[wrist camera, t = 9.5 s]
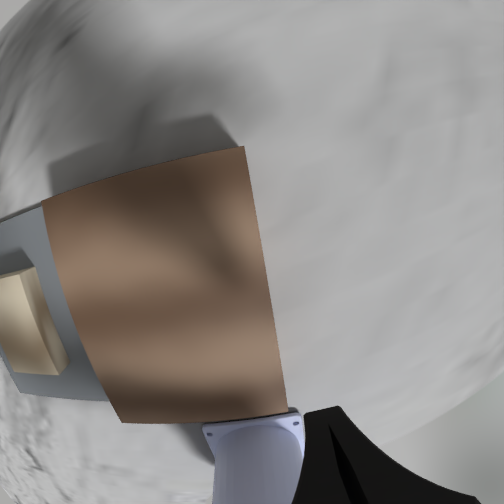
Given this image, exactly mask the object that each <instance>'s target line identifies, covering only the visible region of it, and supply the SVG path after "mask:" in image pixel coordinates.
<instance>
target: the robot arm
mask: <svg viewBox="0 0 504 504" xmlns="http://www.w3.org/2000/svg"><path fill="white" fill-rule="evenodd" d="M303 416H304V425H305V444H304V435H303V426H302V417H301V414H300V413H290V414H284V415H278V416H272V417H266V418H259V419H252V420H244V421H235V422H225V423H213V424H205V425H203V427H202V431H203V434H204V436H205V438H206V440H207V443H208V445H209V447H210V449H211V451H212V453H213V455H214V458H215V472H214V485H213V499H212V504H481V503H480V502H479V501H478V500H477V498H476V497H474V496H470V495H466V494H462V493H459V492H456V491H453V490H450V489H447V488H444V487H442V486H439V485H437V484H435V483H432V482H430V481H428V480H426V479H424V478H422V477H420V476H418V475H416V474H414V473H413V472H411V471H409V470H408V469H406V468H404V467H403V466H402V465H400V464H399V463H397V462H396V461H394V460H393V459H392V458H390V457H389V456H388V455H386V454H385V453H384V452H383V451H382V450H380V449H379V448H378V447H377V446H376V445H375V444H374V443H372V442H371V441H370V440H369V439H368V438H367V437H366V436H365V435H364V434H363V433H362V432H361V431H360V430H359V429H358V428H357V427H356V425H355V424H354V423H353V422H352V421H351V420H350V419H349V417H348V416H347V415H346V414H345V412H344V411H343V410H342V408H341V407H340V406H334V407H330V408H326V409H322V410H317V411H313V412H308V413H306V414H304V415H303ZM296 421H297V422H296Z"/></svg>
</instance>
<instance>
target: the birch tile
mask: <svg viewBox="0 0 504 504" xmlns="http://www.w3.org/2000/svg"><path fill="white" fill-rule="evenodd" d="M0 343H1V346H2V348H3V350H4V352H5V354H6V356H7V359H8V361H9V363H10V365H11V367H12V369H13V371H14V372H19V373H30V374H44V375H60V374H61V373H62V371H63V370H64V369H65V368H66V367H67V365H68V364H69V363H70V360H69V358H68V356H67V354H66V351H65V349H64V347H63V344H62V342H61V340H60V337H59V335H58V332H57V330H56V327H55V325H54V322H53V320H52V317H51V314H50V312H49V309H48V306H47V303H46V300H45V297H44V294H43V291H42V288H41V285H40V282H39V278H38V275H37V271H36V268H35V267H31V268H27V269H23V270H19V271H15V272H11V273H7V274H3V275H0Z"/></svg>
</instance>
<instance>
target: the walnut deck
mask: <svg viewBox="0 0 504 504" xmlns="http://www.w3.org/2000/svg"><path fill="white" fill-rule="evenodd" d="M41 203H42V209H43V214H44V219H45V224H46V229H47V234H48V238H49V243H50V247H51V251H52V255H53V259H54V262H55V266H56V270H57V273H58V276H59V280H60V283H61V286H62V290H63V293H64V296H65V299H66V302H67V305H68V308H69V310H70V313H71V316H72V319H73V321H74V324H75V327H76V329H77V332H78V334H79V337H80V339H81V342H82V344H83V346H84V349H85V351H86V353H87V356H88V358H89V360H90V362H91V365H92V367H93V369H94V371H95V373H96V375H97V377H98V379H99V381H100V383H101V385H102V387H103V389H104V391H105V393H106V395H107V397H108V399H109V401H110V403H111V404H112V406H113V408H114V410H115V412H116V413H117V415H118V417H119V419H120V420H121V422H122V423H142V424H171V423H197V422H211V421H223V420H233V419H242V418H250V417H258V416H264V415H271V414H277V413H283V412H288V405H287V398H286V392H285V386H284V379H283V373H282V367H281V360H280V354H279V348H278V342H277V335H276V329H275V323H274V317H273V311H272V305H271V299H270V293H269V287H268V281H267V275H266V269H265V263H264V257H263V251H262V245H261V239H260V234H259V228H258V222H257V216H256V211H255V205H254V199H253V193H252V188H251V182H250V176H249V171H248V165H247V160H246V154H245V148H244V146H240V147H235V148H229V149H224V150H218V151H213V152H208V153H204V154H199V155H194V156H190V157H185V158H181V159H176V160H172V161H168V162H164V163H160V164H156V165H152V166H148V167H144V168H141V169H137V170H133V171H130V172H126V173H123V174H119V175H116V176H113V177H109V178H106V179H103V180H100V181H96V182H93V183H90V184H87V185H84V186H81V187H78V188H75V189H72V190H70V191H67V192H64V193H61V194H58V195H56V196H53V197H50V198H48V199H45V200H43V201H41Z"/></svg>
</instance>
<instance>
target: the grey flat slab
mask: <svg viewBox="0 0 504 504" xmlns="http://www.w3.org/2000/svg"><path fill="white" fill-rule="evenodd" d="M31 267H35V268H36V271H37V275H38V278H39V282H40V285H41V288H42V291H43V294H44V297H45V300H46V303H47V306H48V309H49V312H50V314H51V317H52V320H53V322H54V325H55V327H56V330H57V332H58V335H59V337H60V340H61V342H62V344H63V347H64V349H65V351H66V354H67V356H68V358H69V360H70V363H69V364H68V365H67V367H66V368H65V369H64V370H63V371H62V373H61V374H60V375H44V374H30V373H19V372H14V371H13V369H12V367H11V365H10V363H9V361H8V359H7V356H6V354H5V352H4V350H3V348H2V346H1V343H0V355H1V357H2V359H3V361H4V363H5V365H6V367H7V369H8V371H9V373H10V375H11V377H12V379H13V381H14V383H15V384H16V386H17V388H18V390H19V391H20V393H26V394H32V395H39V396H47V397H56V398H66V399H77V400H92V401H109V399H108V397H107V395H106V393H105V391H104V389H103V387H102V385H101V383H100V381H99V379H98V377H97V375H96V373H95V371H94V369H93V367H92V365H91V362H90V360H89V358H88V356H87V353H86V351H85V349H84V346H83V344H82V342H81V339H80V337H79V334H78V332H77V329H76V327H75V324H74V321H73V319H72V316H71V313H70V310H69V308H68V305H67V302H66V299H65V296H64V293H63V290H62V286H61V283H60V280H59V276H58V273H57V270H56V266H55V262H54V259H53V255H52V251H51V247H50V243H49V238H48V234H47V229H46V224H45V219H44V214H43V209H42V206H41V207H38V208H36V209H33V210H30V211H28V212H25V213H23V214H20V215H18V216H16V217H13V218H11V219H8V220H6V221H4V222H1V223H0V275H3V274H7V273H11V272H15V271H19V270H23V269H27V268H31Z"/></svg>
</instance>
